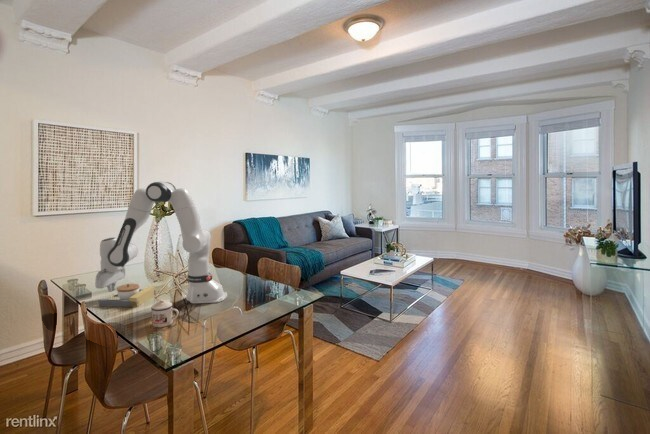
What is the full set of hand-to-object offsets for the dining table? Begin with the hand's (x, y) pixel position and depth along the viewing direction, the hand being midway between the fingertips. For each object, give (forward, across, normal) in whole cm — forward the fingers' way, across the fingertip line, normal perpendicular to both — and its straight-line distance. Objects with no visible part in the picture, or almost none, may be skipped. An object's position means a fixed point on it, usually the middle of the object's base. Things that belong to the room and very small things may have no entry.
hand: (111, 290), depth 187 cm
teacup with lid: (+5, -27, -45) cm, 53 cm away
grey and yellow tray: (+5, 0, -9) cm, 11 cm away
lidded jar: (+5, 0, -10) cm, 11 cm away
